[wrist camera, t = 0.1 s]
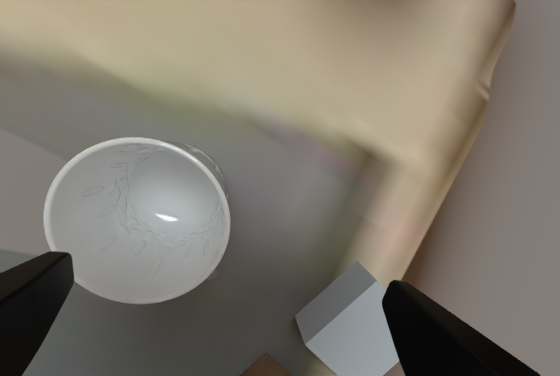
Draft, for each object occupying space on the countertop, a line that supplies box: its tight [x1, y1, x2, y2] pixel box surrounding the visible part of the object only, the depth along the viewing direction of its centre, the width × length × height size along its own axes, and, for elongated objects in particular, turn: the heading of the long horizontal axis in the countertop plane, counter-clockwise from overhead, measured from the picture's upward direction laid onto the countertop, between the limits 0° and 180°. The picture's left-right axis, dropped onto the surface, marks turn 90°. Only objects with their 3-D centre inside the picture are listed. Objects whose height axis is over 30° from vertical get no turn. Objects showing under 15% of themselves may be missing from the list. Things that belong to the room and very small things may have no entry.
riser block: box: [295, 261, 399, 376], centre depth 25 cm, size 8×8×4 cm
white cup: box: [43, 137, 230, 304], centre depth 17 cm, size 8×8×10 cm
